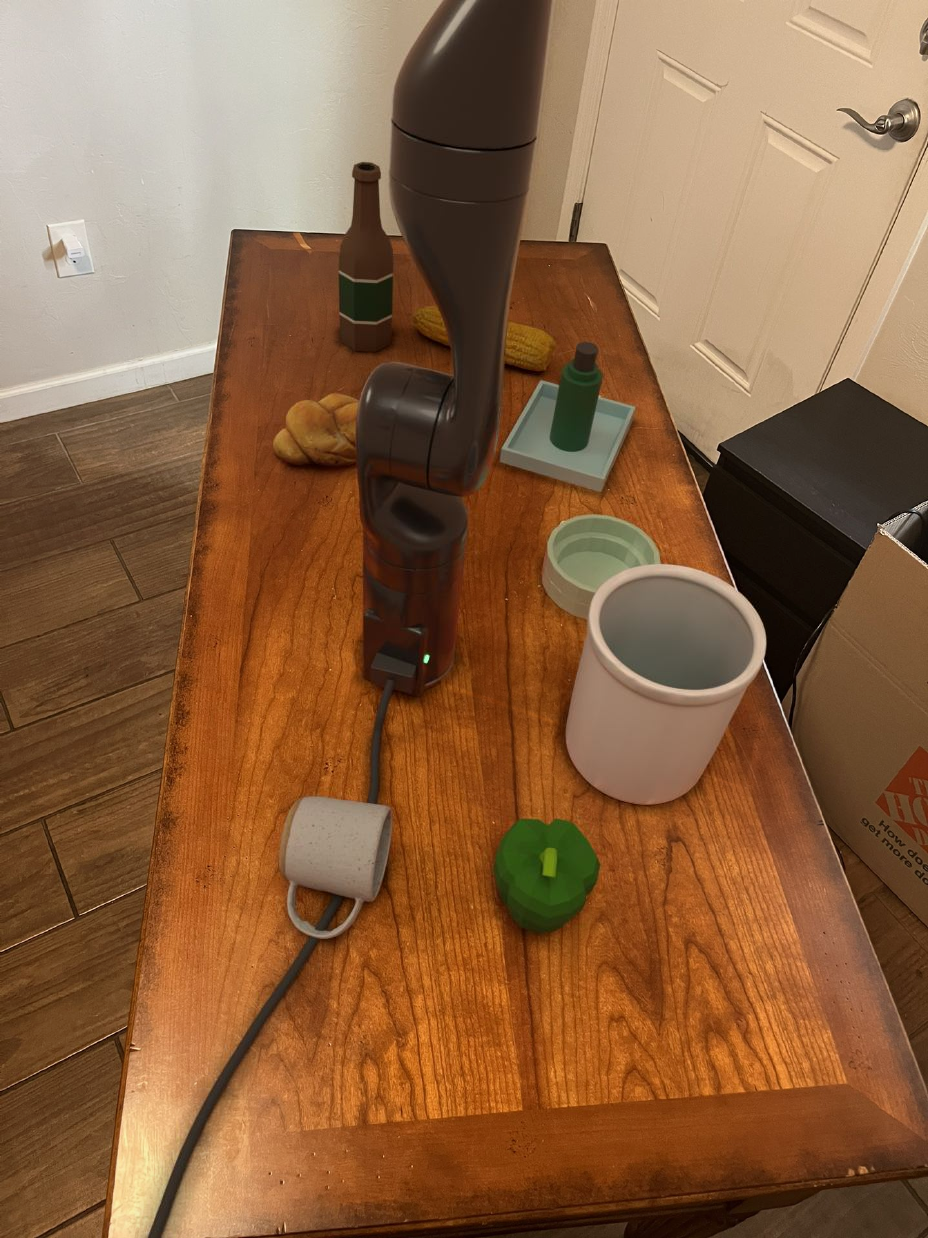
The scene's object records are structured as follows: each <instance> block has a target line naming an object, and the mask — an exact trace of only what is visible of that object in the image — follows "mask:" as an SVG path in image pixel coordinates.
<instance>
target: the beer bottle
mask: <svg viewBox="0 0 928 1238" xmlns="http://www.w3.org/2000/svg"><path fill="white" fill-rule="evenodd" d="M351 177H352V178H353V179H354V181H353V200H352V201H353V202H352V217H351V223H350V226H349V228H348V229H347V231H346V232H345V234H344V235H343V237H342V240H341V243H340V246H339V254H338V255H339V256H338V308H339V309H338V311H339V313H338V314H339V316H338V317H339V335H340V336H339V337H340V343H342V344H343V345H344V346H346V347H348V348H349V349H351V350H353V351H354V352H360V353H361V352H362V353H363V352H364V353H376V352H379V351H380V350H383V349H384V348H385V349H386V347H389V346H390V345H391V343H392V333H393V330H392V329H393V295H394V249H393V246H392V242H391V239H390V237H389V236H388V234H387V232H386V231H385V230H384V228H383V226H382V220H381V204H380V200H381V199H380V181H379V180H381V179H382V172H381V168H380V165H378V164H376V163H374V162H369V161H361V162H358V163H355V164H353V168H352V172H351Z"/></svg>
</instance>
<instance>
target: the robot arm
mask: <svg viewBox="0 0 928 1238" xmlns="http://www.w3.org/2000/svg"><path fill="white" fill-rule="evenodd" d="M553 7H554V0H442V1H441V2H440V3H439V5H438V6H437V8H436V10H435V11H434V12H433V13H432V15H431V17H430V18H429V19H428V21H427V23H426V24H425V25H424V27H423V29H422V30H421V32H420V33H419V35H418V37H416V40H415V41H414V43H413V44H412V46H411V47H410V49H409V51H408V53H407V55H406V56H405V59H404V60H403V63H402V64H401V67H400V68H399V71H398V74H397V77H396V79H395V82H394V86H393V89H392V90H393V91H392V96H391V97H392V99H391V113H390V115H391V119H390V139H389V161H388V184H387V185H388V186H387V188H388V195H389V197H388V199H389V202H390V206H391V210H392V214H393V216H394V219H395V222H396V225H397V227H398V230H399V232H400V235H401V237H402V239H403V241H404V244H405V246H406V248H407V250H408V252H409V255H410V257H411V259H412V261H413V262H414V264H415V266H416V268H417V270H418V272H419V274H420V275H421V277H422V280H423V282H424V283H425V285H426V287H427V289H428V291H429V293H430V294H431V297H432V299H433V301H434V303H435V306H437V307H438V309H439V312H440V314H441V317H442V319H443V322H444V325H445V328H446V331H447V335H448V339H449V343H450V346H449V347H450V354H451V362H452V370H453V374H452V373H449V372H445V371H441V370H435V369H432V368H428V367H424V366H418V365H415V364H411V363H407V362H402V361H397V360H389V361H384V362H382V363H380V364H378V365H377V366H376V367H375V368H374V369H373V370H372V371H371V373H369V375H368V376H367V378H366V381H365V383H364V385H363V387H362V389H361V392H360V396H359V400H358V401H359V404H358V409H357V415H356V431H355V447H356V463H355V464H356V474H357V485H358V486H357V487H358V505H359V509H358V510H359V519H360V523H361V526H362V646H361V647H362V648H361V657H362V679H364V680H366V681H369V682H370V684H371V685H375V686H378V687H383V691H382V694H381V698H380V700H379V705H378V708H377V711H376V716H375V718H374V719H375V720H374V724H373V729H372V736H371V745H370V765H369V766H370V767H369V769H370V770H369V790H368V796H367V802H366V803H370V804H378V797H379V789H380V762H381V761H380V759H381V758H380V757H381V753H380V752H381V743H382V735H383V728H384V724H385V721H386V715H387V712H388V708H389V704H390V701H391V699H392V695H393V692H394V691H397V692H401V693H404V694H407V695H409V696H412V697H415V698H420V697H422V694H423V693H424V691H425V690H428V689H431V688H433V687H435V686H437V685H439V684H440V683H442V681H443V679H444V678H445V677H446V676H447V675H448V674H449V673H450V671H451V670H452V668H453V665H454V663H455V657H456V639H457V630H458V621H459V612H460V603H461V594H462V587H463V586H462V585H463V578H464V577H463V576H464V569H465V568H464V567H465V561H466V560H465V559H466V551H467V550H466V549H467V542H468V535H469V528H470V527H469V525H470V523H469V522H470V518H469V512H468V508H467V505H466V504H465V502H464V500H463V498H467V497H470V496H473V495H475V494H476V493H477V492H478V491H479V490H480V489H482V487H483V486H484V484H485V482H486V481H487V479H488V477H489V474H490V472H491V470H492V469H491V468H492V466H493V463H494V459H495V455H496V452H497V451H496V450H497V445H498V439H499V434H500V433H499V432H500V423H501V414H502V403H503V391H504V390H503V389H504V378H505V377H504V376H505V365H506V364H505V352H506V339H507V328H508V322H509V317H510V307H511V299H512V291H513V285H514V280H515V274H516V268H517V263H518V257H519V251H520V245H521V239H522V233H523V228H524V223H525V218H526V212H527V206H528V199H529V196H530V195H529V194H530V189H531V182H532V176H533V168H534V162H535V161H534V160H535V154H536V147H537V142H538V141H537V140H538V134H539V127H540V119H541V111H542V102H543V93H544V84H545V75H546V68H547V67H546V66H547V58H548V49H549V39H550V31H551V24H552V23H551V22H552V16H553V15H552V14H553ZM344 897H345V896H340V895H337V894H334V893H333V896H332V897H331V899H330V901H329V903H328V905H327V907H326V908H325V910H324V912H323V913H322V915H321V917H320V919H319V921H317V924H316V925H315V926H314V927H315V930H318V931H324V930H327V928H328V926H329V925H330V923H331V921H332V919H333V917H334V916H335V914H336V913H337V910H338V908H339V907H340V905H341V903H342V901H343V900H344ZM319 941H320V939H319V938H314V937H311V936H309V937H308V938H307V940H306V941H305V943H304V945H303V946H302V948H301V949H300V951H299V953H298V954H297V956H296V958H295V959H294V960H293V962H292V964H291V966H290V967H289V968H288V970H287V971H286V973H284V976H283V977H282V978H281V980H280V981H279V983H278V984H277V985H276V986H275V989H274V990H273V992H272V993H271V995H269V997H268V999H267V1000H266V1002H265V1003H264V1004H263V1006H262V1007H261V1009H260V1010H259V1012H258V1014H257V1015H256V1017H255V1018H254V1019H253V1021H252V1023H251V1025H250V1026H249V1028H248V1029H247V1031H246V1033H245V1034H244V1036H243V1037H242V1038H241V1041H240V1042H239V1043H238V1045H237V1047H236V1048H235V1050H234V1052H233V1053H232V1055H231V1056H230V1058H229V1059H228V1061H227V1062H226V1064H225V1066H224V1068H223V1069H222V1071H221V1072H220V1074H219V1076H218V1077H217V1079H216V1081H215V1082H214V1084H213V1086H212V1087H211V1089H210V1091H209V1093H208V1094H207V1097H206V1098H205V1100H204V1101H203V1104H202V1105H201V1107H200V1109H199V1111H198V1113H197V1115H196V1116H195V1119H194V1121H193V1123H192V1125H191V1127H190V1129H189V1131H188V1133H187V1135H186V1138H185V1140H184V1142H183V1144H182V1146H181V1149H180V1151H179V1153H178V1156H177V1157H176V1161H175V1163H174V1166H173V1168H172V1170H171V1172H170V1176H169V1179H168V1181H167V1183H166V1186H165V1188H164V1192H163V1195H162V1198H161V1200H160V1204H159V1206H158V1208H157V1212H156V1214H155V1217H154V1218H153V1219H154V1220H153V1222H152V1225H151V1227H150V1230H149V1233H148V1235H147V1238H162V1236H163V1233H164V1230H165V1228H166V1225H167V1222H168V1220H169V1217H170V1215H171V1210H172V1209H173V1205H174V1202H175V1200H176V1197H177V1195H178V1191H179V1188H180V1185H181V1183H182V1180H183V1178H184V1175H185V1172H186V1170H187V1167H188V1164H189V1162H190V1160H191V1157H192V1155H193V1153H194V1150H195V1148H196V1145H197V1143H198V1141H199V1139H200V1136H201V1135H202V1133H203V1131H204V1128H205V1126H206V1124H207V1122H208V1120H209V1118H210V1116H211V1114H212V1112H213V1111H214V1109H215V1107H216V1105H217V1103H218V1101H219V1099H220V1097H221V1096H222V1094H223V1092H224V1090H225V1089H226V1088H227V1085H228V1084H229V1082H230V1080H231V1078H232V1077H233V1075H234V1074H235V1072H236V1070H237V1069H238V1067H239V1066H240V1064H241V1063H242V1061H243V1060H244V1057H245V1056H246V1054H247V1053H248V1051H249V1049H250V1048H251V1047H252V1045H253V1043H254V1041H255V1040H256V1038H257V1036H258V1035H259V1033H260V1032H261V1030H262V1029H263V1027H264V1026H265V1024H266V1023H267V1021H268V1019H269V1018H270V1016H271V1015H272V1013H273V1011H274V1010H276V1008H277V1006H278V1004H279V1003H280V1001H281V1000H282V999H283V997H284V995H285V994H286V993H287V992H288V990H289V988H290V987H291V985H292V984H293V982H294V981H295V979H296V978H297V976H298V975H299V974H300V972H301V970H302V969H303V968H304V965H305V964H306V963H307V961H308V959H309V957H311V954H312V953H313V951H314V949H315V948H316V946H317V944H318V942H319Z"/></svg>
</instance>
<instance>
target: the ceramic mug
mask: <svg viewBox="0 0 928 1238" xmlns="http://www.w3.org/2000/svg"><path fill="white" fill-rule="evenodd" d="M282 829H283V830H282V833H281V837H280V843H279V848H278V849H279V852H278V869H279V872H280V874H281V876H282V877H283V879H285V880H287V881H288V883H289V887H288V891H287V895H286V896H287V899H286V906H287V907H286V908H287V913H288V916H289V919H290V920H291V922H292V924H293V925H294V927H295V928H296V929H297V930H298V931H299V932H301V933H302V934H305V935H307V936H309V937H310V936H311V937H314V938H319V940H326V939H327V940H328V939H332V938H336V937H339V936H340V935H342V934H343V933H344V932H346V931H348V929H350V927H351V926H352V925H353V923H354V922H355V921H356V919H357V917H358V915H359V913H360V911H361V909H362V906H363V903H364V902H368V903H372V902H374V901H375V899H376V898H377V896H378V894H379V892H380V890H381V885H382V882H383V879H384V875H385V871H386V867H387V864H388V858H389V852H390V847H391V840H392V835H393V834H392V833H393V811H392V808H391V807H390V806H388V805H386V804H378V803H377V804H370V803H367V802H362V801H355V800H347V799H339V798H334V797H329V796H320V795H319V796H318V795H315V796H314V795H313V796H311V795H310V796H303V797H300V798H298V799H296V800H295V802H294V803H293V804H292V805H291V807H290V809H289V811H288V813H287V815H286V818H285V821H284V825H283V828H282ZM298 886H300V887H304V888H308V889H313V890H317V891H323V892H327V893H331V894H333V895H334V894H337V895H340V896H344V897H346V898H350V899H353V900H355V904H354V906H353V909H352V910H351V912H350V913H349V915H348V917H346V920H344V921H343V922H342V924H340V925H339V926H337V927H336V928H333V930H327V929H325V930H324V931H318V930H315V927H316V926H314V925H313V924H311V923H310V922H309V921H308V920H302V919H301V918H300V917H299V916H298V912H297V911H296V894H297V889H298Z"/></svg>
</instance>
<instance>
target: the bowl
mask: <svg viewBox="0 0 928 1238" xmlns="http://www.w3.org/2000/svg"><path fill="white" fill-rule="evenodd" d="M653 564H662V563H661V557H660V551H659V549H658V546H657V545H656V544H655V542H654V540H653V538H651V537H650V535H648V534H647V533H646V532H645V531H644V530H642V529H641V528H640V527H638V526H636V525H635V524H633V523H631V522H629V521H627V520H624V519H622V518H618V517H615V516H612V515H608V514H607V515H606V514H595V513H591V514H584V515H583V514H582V515H577V516H573V517H571V518H568V519H566V520H564V521H562V522H561V523H560V524H558V525H557V526H556V527H555V528H554V529H553V530H552V531H551V533H550V535H549V538H548V539H547V542H546V547H545V552H544V557H543V562H542V567H541V584H542V586H543V588H544V590H545V592H546V595H547V596H548V597H549V598H550V600H552V601H553V603H555V605H556V606H557V607H558V608H560V609H561V610H563V611H565V612H567V613H568V614H569V615H571V616H573V617H576V618H578V619H582V620H585V621H587V617H588V611H589V607H590V604H591V601H592V598H593V596H594V594H595V593H596V592H597V590H598V589H599V587H600V586H601V585H602V584H603V583H604V582H606V581H607V580H608V579H609V578H611V577H612V576H614V575H616V574H617V573H620V572H622V571H624V570H627V569H630V568H633V567H638V566H643V565H653Z"/></svg>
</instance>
